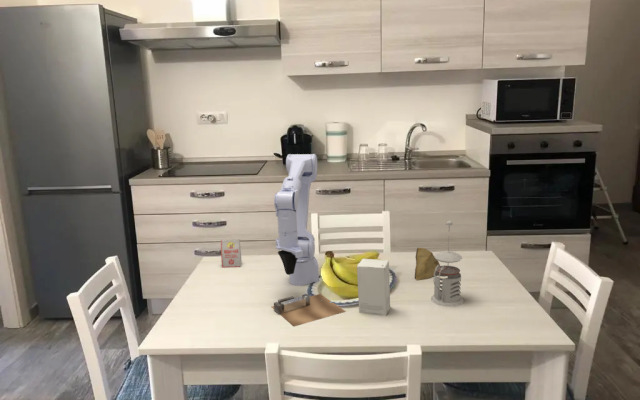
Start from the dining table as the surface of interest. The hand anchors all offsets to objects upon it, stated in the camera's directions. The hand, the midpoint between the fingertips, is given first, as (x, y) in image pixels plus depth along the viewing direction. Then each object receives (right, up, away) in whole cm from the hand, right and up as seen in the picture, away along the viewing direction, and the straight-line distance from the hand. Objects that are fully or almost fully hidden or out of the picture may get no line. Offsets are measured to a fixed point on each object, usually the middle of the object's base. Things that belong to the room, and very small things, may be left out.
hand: (289, 273), depth 158 cm
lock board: (+6, -11, -5) cm, 13 cm away
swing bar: (+2, -10, -4) cm, 11 cm away
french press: (+47, -8, 0) cm, 48 cm away
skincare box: (+25, -11, -7) cm, 28 cm away
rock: (+46, -4, +20) cm, 50 cm away
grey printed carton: (-24, -2, +35) cm, 42 cm away
